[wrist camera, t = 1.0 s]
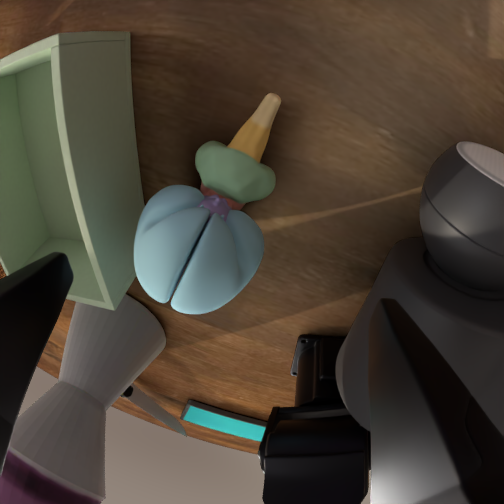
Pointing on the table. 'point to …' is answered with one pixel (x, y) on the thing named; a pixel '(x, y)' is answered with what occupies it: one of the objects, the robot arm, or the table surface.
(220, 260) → the toy flower bud
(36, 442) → the lamp
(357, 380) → the binoculars
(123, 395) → the kitchen knife
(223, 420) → the smartphone
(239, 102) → the table surface
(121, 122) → the bin
